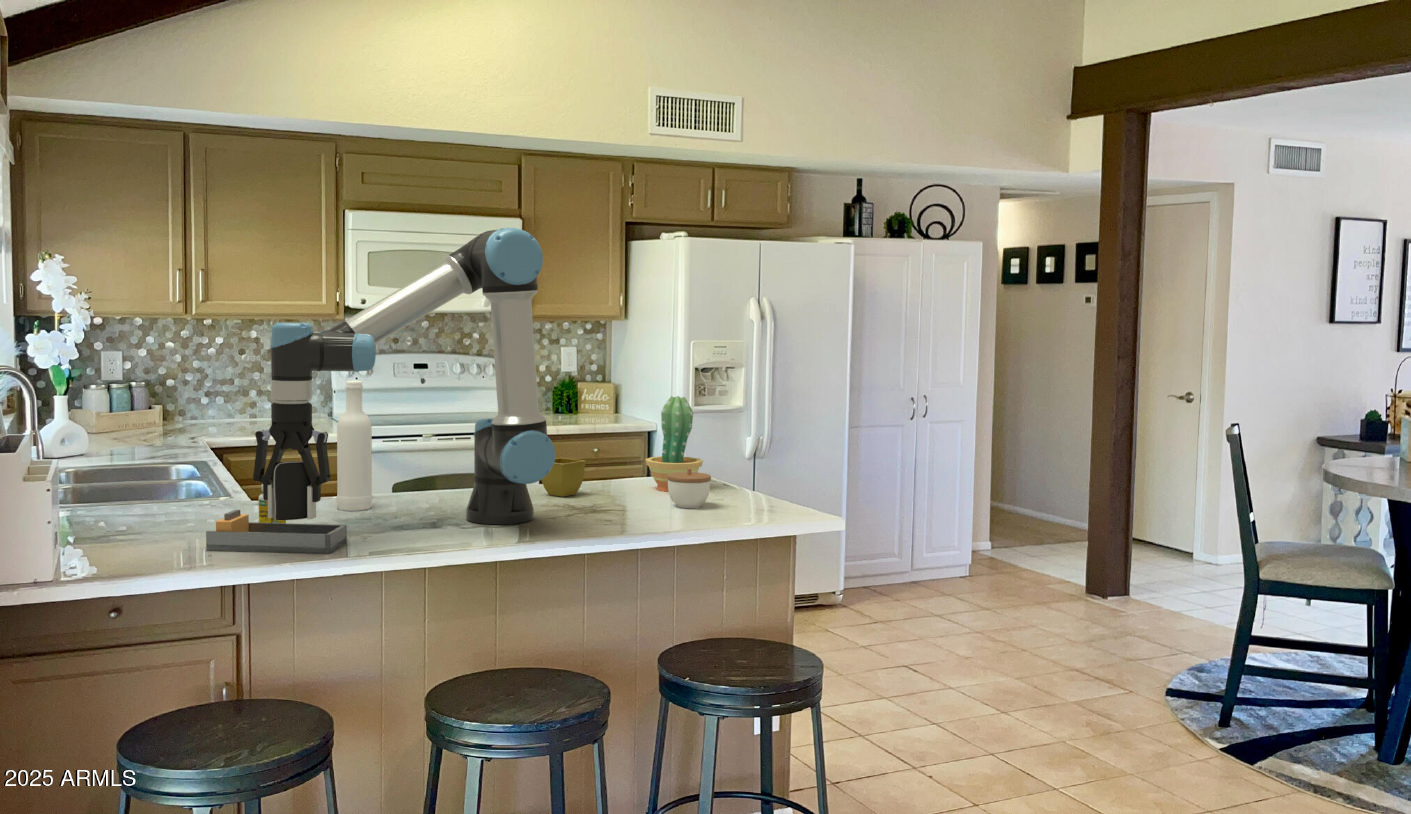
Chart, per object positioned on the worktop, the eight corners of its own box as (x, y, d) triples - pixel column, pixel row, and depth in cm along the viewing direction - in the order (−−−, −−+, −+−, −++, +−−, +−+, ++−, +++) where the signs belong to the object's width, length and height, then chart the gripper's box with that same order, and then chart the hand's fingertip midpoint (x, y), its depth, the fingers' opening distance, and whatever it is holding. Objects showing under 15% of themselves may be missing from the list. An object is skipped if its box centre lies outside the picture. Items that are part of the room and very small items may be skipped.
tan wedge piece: (248, 533, 230) (248, 508, 230) (231, 542, 222) (231, 515, 222) (234, 533, 230) (233, 508, 230) (216, 541, 222) (215, 515, 222)
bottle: (360, 503, 275) (360, 379, 272) (378, 508, 269) (378, 381, 267) (330, 507, 269) (329, 380, 266) (348, 512, 263) (348, 382, 261)
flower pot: (537, 495, 293) (537, 460, 292) (560, 491, 300) (560, 457, 299) (563, 499, 288) (563, 463, 287) (586, 494, 295) (586, 460, 294)
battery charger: (306, 515, 229) (306, 459, 228) (311, 518, 226) (312, 461, 225) (270, 518, 225) (270, 460, 224) (275, 521, 222) (275, 463, 221)
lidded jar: (702, 501, 289) (703, 465, 288) (716, 509, 279) (717, 471, 278) (661, 503, 286) (662, 465, 285) (673, 510, 275) (674, 472, 275)
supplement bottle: (290, 526, 245) (290, 482, 245) (277, 531, 240) (277, 486, 239) (267, 525, 246) (266, 481, 245) (253, 530, 241) (253, 485, 240)
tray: (346, 543, 231) (346, 524, 231) (329, 553, 221) (329, 534, 221) (229, 539, 231) (228, 521, 231) (206, 550, 221) (206, 531, 221)
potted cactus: (712, 488, 310) (715, 396, 308) (682, 496, 297) (684, 400, 294) (665, 482, 318) (667, 393, 315) (633, 489, 305) (635, 396, 302)
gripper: (349, 401, 227) (348, 515, 229) (249, 398, 227) (249, 512, 229) (336, 404, 220) (336, 522, 222) (232, 401, 220) (233, 519, 222)
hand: (292, 517), depth 225 cm, fingers closed on battery charger, 7 cm apart
